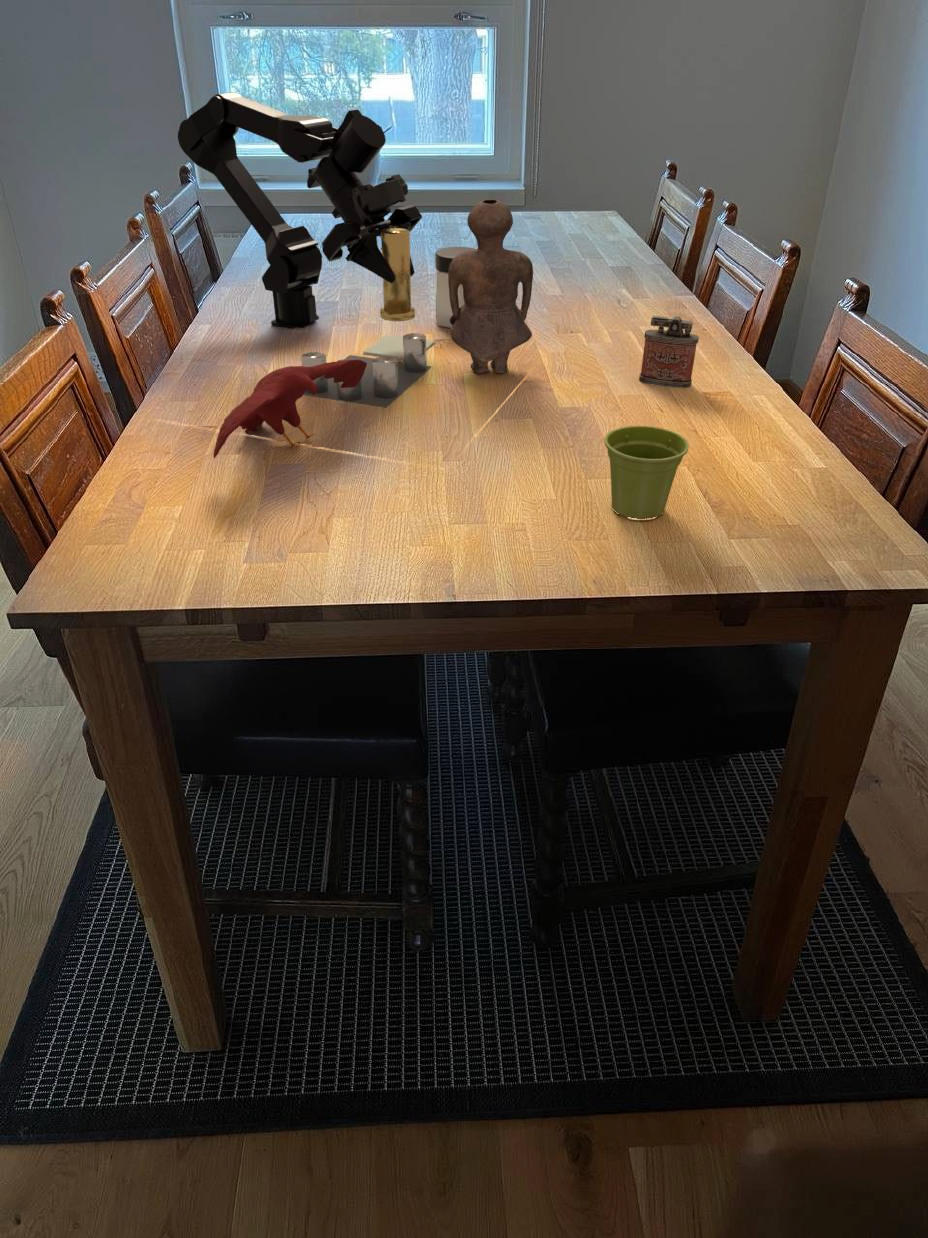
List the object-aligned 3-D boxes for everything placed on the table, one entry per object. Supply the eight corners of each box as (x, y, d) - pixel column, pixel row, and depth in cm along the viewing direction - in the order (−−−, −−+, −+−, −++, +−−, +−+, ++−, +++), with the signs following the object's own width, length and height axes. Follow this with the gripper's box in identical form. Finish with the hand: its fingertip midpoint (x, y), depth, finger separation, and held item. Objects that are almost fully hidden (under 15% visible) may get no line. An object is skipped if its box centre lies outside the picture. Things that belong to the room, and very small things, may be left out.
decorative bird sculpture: (206, 509, 116) (256, 447, 105) (159, 451, 115) (204, 383, 104) (344, 432, 136) (398, 373, 125) (305, 381, 135) (355, 318, 124)
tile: (363, 355, 150) (363, 351, 150) (385, 338, 157) (385, 334, 156) (413, 362, 147) (413, 358, 147) (434, 344, 154) (434, 341, 154)
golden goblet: (380, 321, 146) (377, 235, 139) (380, 310, 151) (376, 227, 143) (415, 321, 147) (414, 235, 139) (414, 310, 151) (412, 226, 144)
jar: (449, 332, 160) (449, 260, 153) (425, 319, 165) (424, 250, 158) (491, 323, 164) (493, 253, 157) (466, 311, 169) (467, 243, 162)
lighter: (692, 382, 142) (703, 317, 136) (689, 389, 139) (700, 323, 133) (640, 375, 144) (649, 311, 138) (637, 382, 141) (645, 317, 135)
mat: (297, 395, 136) (297, 393, 135) (349, 356, 149) (349, 354, 149) (386, 409, 132) (386, 407, 131) (431, 368, 145) (431, 366, 145)
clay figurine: (527, 359, 149) (535, 193, 135) (532, 381, 141) (542, 207, 126) (447, 359, 149) (447, 192, 134) (448, 382, 141) (448, 207, 126)
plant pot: (590, 492, 111) (597, 425, 106) (665, 489, 112) (676, 423, 107) (606, 530, 104) (614, 460, 99) (687, 527, 105) (699, 458, 100)
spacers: (297, 393, 135) (294, 360, 133) (349, 354, 149) (347, 324, 146) (384, 406, 132) (383, 373, 129) (430, 366, 145) (429, 334, 142)
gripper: (330, 165, 131) (392, 258, 132) (411, 149, 144) (467, 234, 145) (295, 216, 139) (354, 303, 141) (375, 196, 152) (428, 276, 153)
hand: (403, 277), depth 145 cm, fingers closed on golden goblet, 4 cm apart
